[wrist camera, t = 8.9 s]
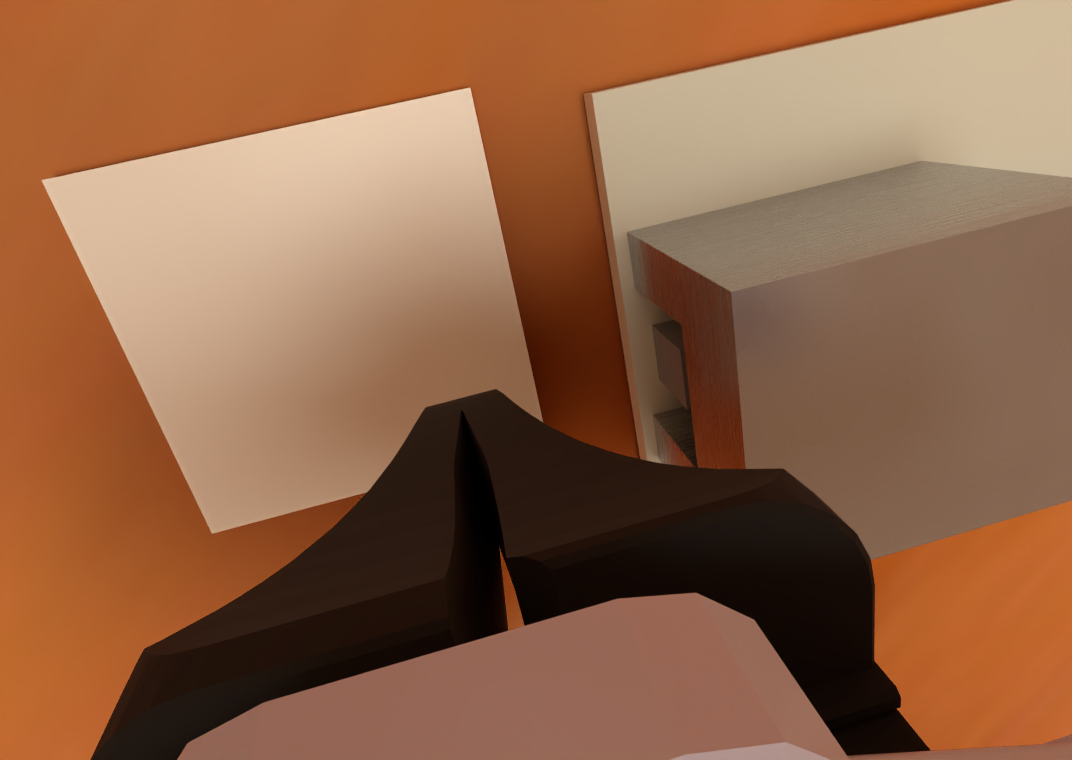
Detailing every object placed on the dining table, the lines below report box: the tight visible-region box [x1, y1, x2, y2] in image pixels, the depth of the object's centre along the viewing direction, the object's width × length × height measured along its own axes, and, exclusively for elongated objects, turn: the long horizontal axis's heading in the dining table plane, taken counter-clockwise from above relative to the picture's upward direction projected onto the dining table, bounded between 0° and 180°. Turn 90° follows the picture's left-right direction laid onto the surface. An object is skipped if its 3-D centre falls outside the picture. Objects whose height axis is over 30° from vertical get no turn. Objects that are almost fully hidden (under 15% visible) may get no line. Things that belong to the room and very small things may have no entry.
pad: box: [42, 88, 543, 534], centre depth 13 cm, size 7×7×1 cm
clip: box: [627, 161, 1072, 560], centre depth 12 cm, size 5×6×4 cm
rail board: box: [583, 0, 1072, 463], centre depth 13 cm, size 10×16×4 cm, turn 101°
